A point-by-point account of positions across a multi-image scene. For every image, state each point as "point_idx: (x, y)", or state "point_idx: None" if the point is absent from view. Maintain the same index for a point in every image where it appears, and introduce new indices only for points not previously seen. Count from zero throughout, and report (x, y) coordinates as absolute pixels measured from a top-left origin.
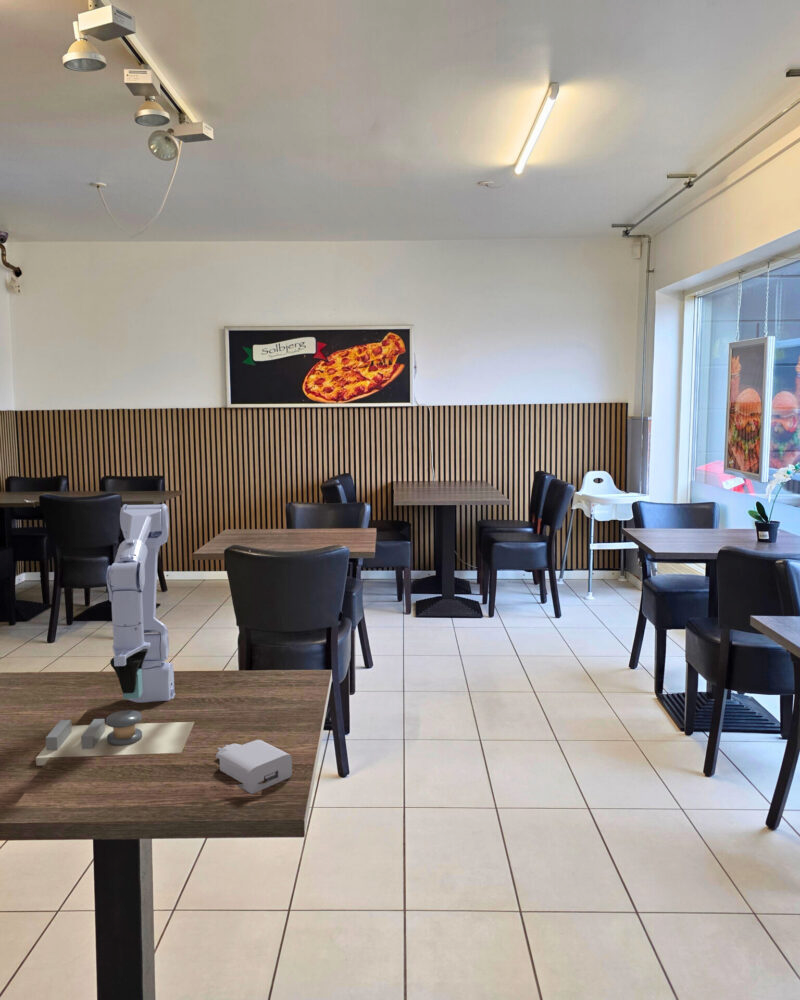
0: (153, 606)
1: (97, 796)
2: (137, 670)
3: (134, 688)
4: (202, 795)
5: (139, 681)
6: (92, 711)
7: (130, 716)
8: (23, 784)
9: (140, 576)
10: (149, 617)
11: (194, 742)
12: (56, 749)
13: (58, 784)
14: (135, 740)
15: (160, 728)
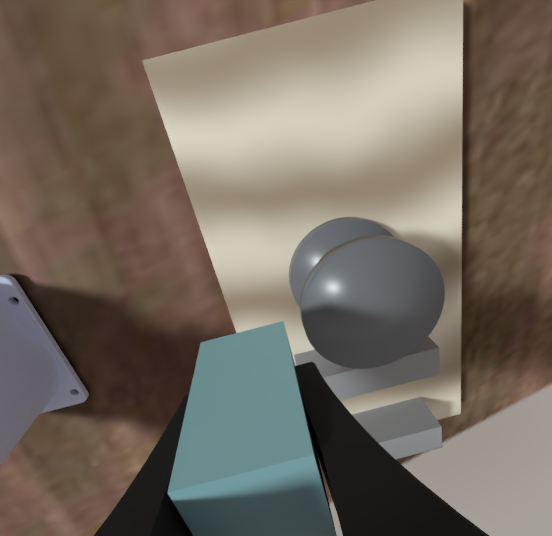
0: None
1: None
2: (338, 494)
3: (320, 374)
4: None
5: (260, 395)
6: (132, 455)
7: (369, 286)
8: (533, 372)
9: None
10: None
11: (278, 8)
12: (421, 399)
13: (548, 306)
14: (375, 223)
15: (245, 189)
